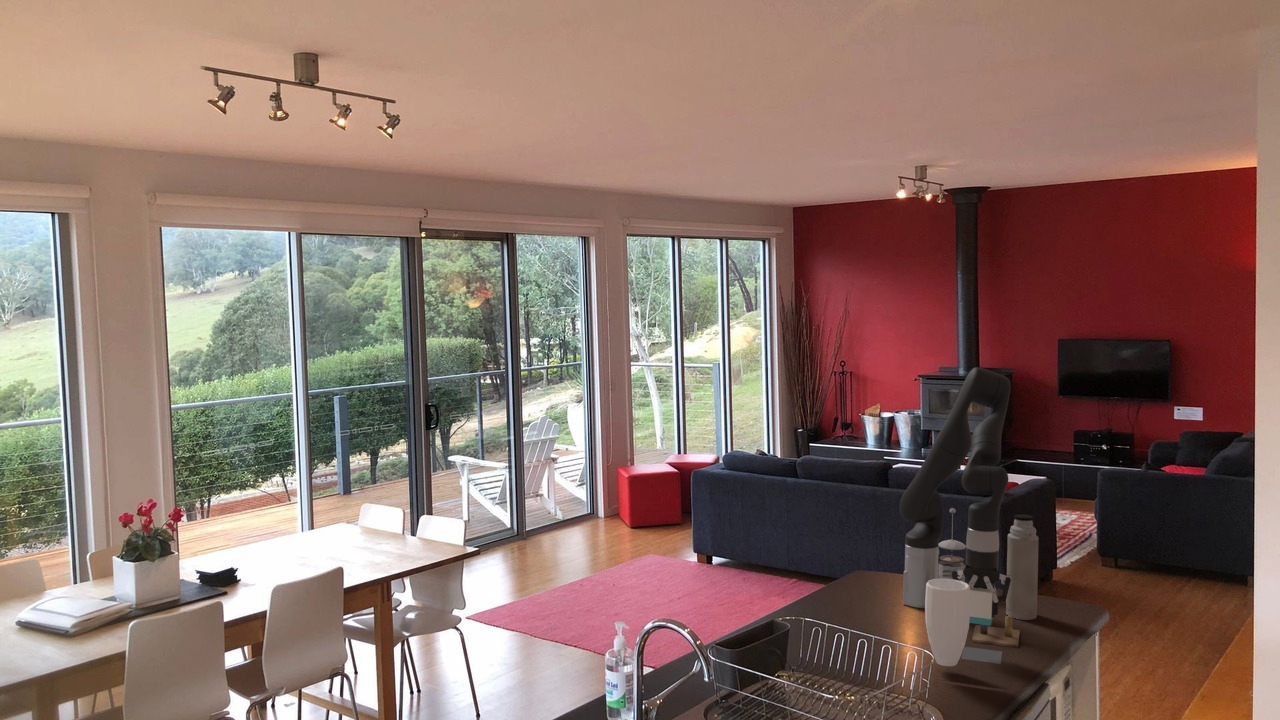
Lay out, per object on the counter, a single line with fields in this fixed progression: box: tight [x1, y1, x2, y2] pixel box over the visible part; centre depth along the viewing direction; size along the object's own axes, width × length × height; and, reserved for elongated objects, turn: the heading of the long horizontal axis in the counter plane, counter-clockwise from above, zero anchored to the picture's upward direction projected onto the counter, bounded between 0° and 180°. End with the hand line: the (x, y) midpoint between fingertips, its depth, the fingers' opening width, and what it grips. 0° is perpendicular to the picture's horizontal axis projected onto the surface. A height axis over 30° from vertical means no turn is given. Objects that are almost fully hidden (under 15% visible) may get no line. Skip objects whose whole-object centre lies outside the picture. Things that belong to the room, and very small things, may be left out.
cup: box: [924, 579, 970, 667], centre depth 229 cm, size 10×10×22 cm
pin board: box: [971, 615, 1021, 648], centre depth 254 cm, size 11×12×6 cm
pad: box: [960, 646, 1003, 665], centre depth 241 cm, size 9×9×1 cm
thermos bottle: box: [1005, 514, 1040, 621], centre depth 272 cm, size 8×8×28 cm
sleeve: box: [969, 587, 993, 627], centre depth 240 cm, size 6×6×8 cm
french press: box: [938, 507, 966, 583], centre depth 296 cm, size 10×12×25 cm
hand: (979, 614), depth 241 cm, fingers closed on sleeve, 5 cm apart
